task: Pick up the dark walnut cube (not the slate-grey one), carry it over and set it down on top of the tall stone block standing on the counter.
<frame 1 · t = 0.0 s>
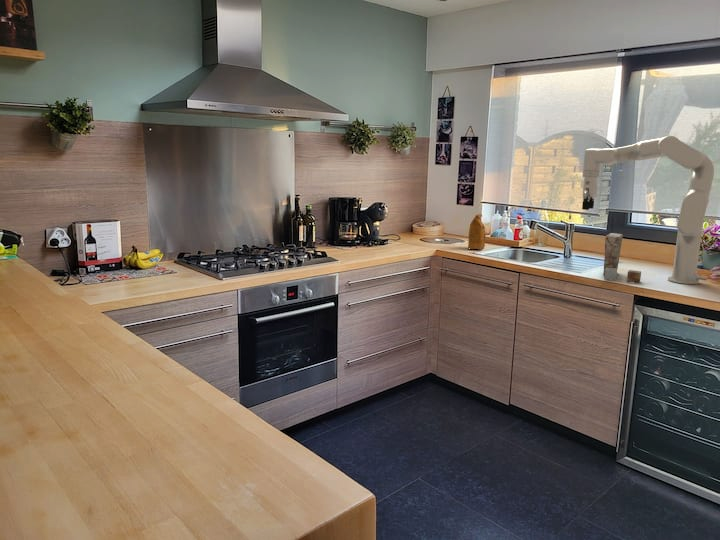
hand: (587, 209, 275), 31 cm above the countertop, tool pointing down, fingers open, 9 cm apart
stone block: (610, 274, 271), on the countertop
walnut cube: (633, 282, 255), on the countertop
slate grey cube: (610, 279, 260), on the countertop
coffee package: (476, 249, 345), on the countertop
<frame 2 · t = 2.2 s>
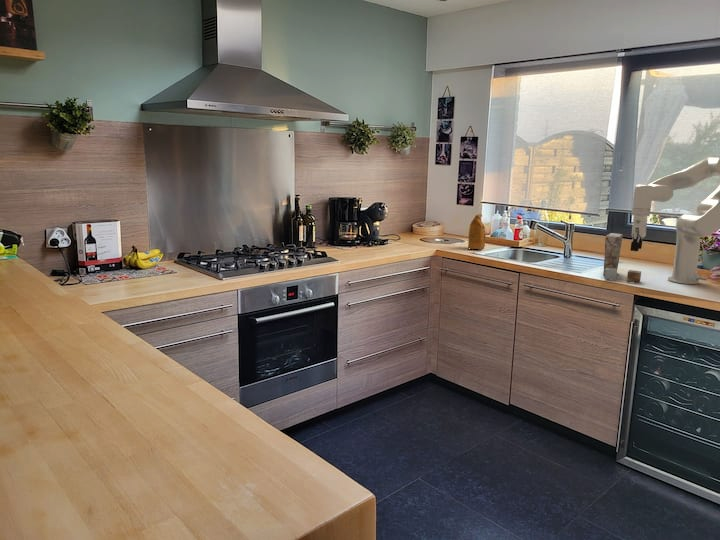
hand: (635, 249, 252), 15 cm above the countertop, tool pointing down, fingers open, 9 cm apart
nothing on the countertop moved.
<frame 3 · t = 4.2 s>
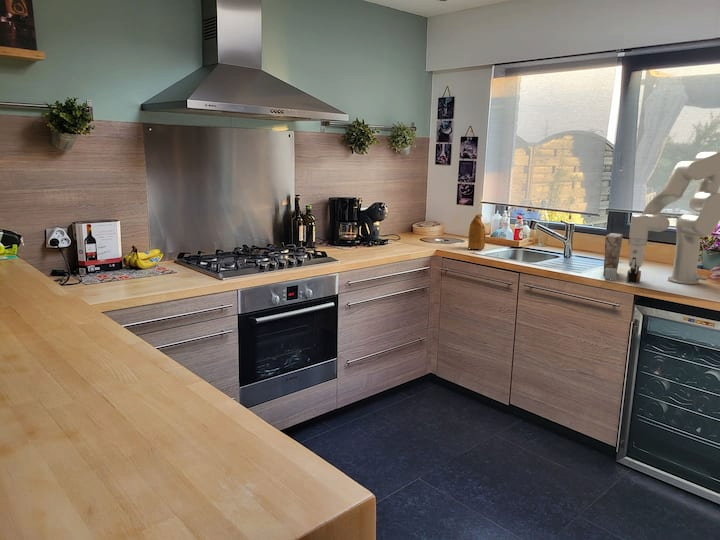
hand: (633, 280, 255), 1 cm above the countertop, tool pointing down, fingers closed on walnut cube, 5 cm apart
walnut cube: (633, 281, 255), on the countertop, touching gripper
everything else where it was.
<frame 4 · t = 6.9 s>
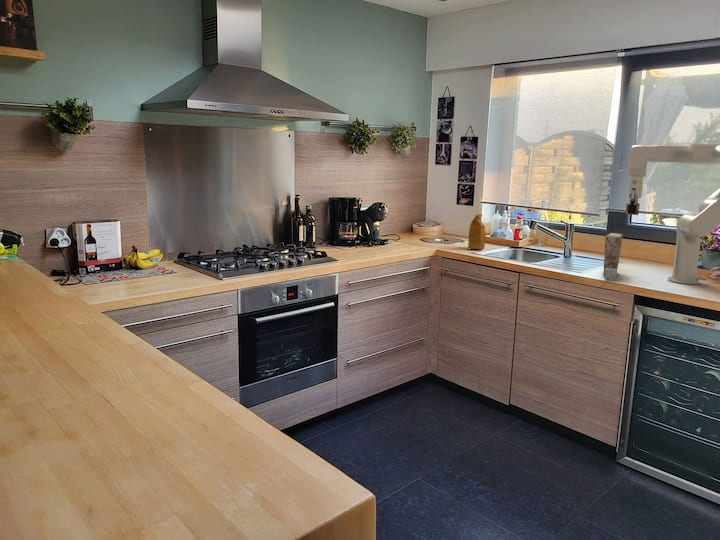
hand: (632, 212, 254), 32 cm above the countertop, tool pointing down, fingers closed on walnut cube, 5 cm apart
walnut cube: (632, 214, 254), point 31 cm above the countertop, touching gripper
everything else where it was.
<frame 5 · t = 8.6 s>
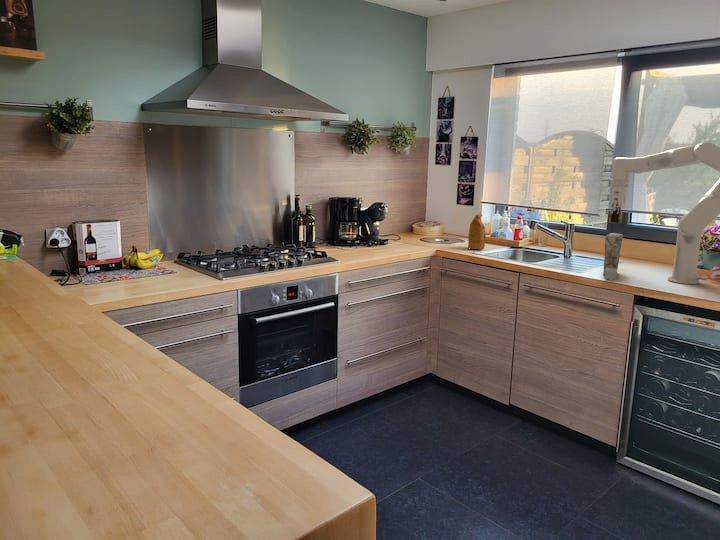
hand: (615, 221, 266), 26 cm above the countertop, tool pointing down, fingers closed on walnut cube, 5 cm apart
walnut cube: (615, 222, 266), point 26 cm above the countertop, touching gripper
everything else where it was.
when the fingers open (22 cm above the countertop, at t = 9.8 s): walnut cube drops 1 cm, resting on stone block.
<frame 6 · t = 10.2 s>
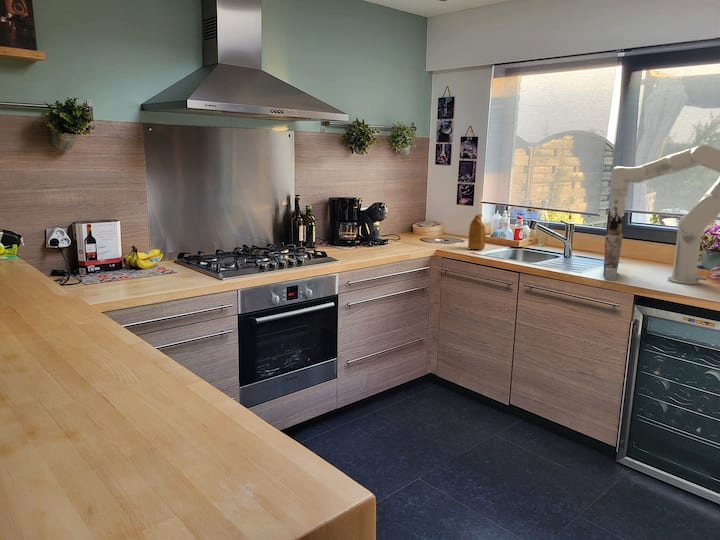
hand: (615, 228, 267), 23 cm above the countertop, tool pointing down, fingers open, 9 cm apart
stone block: (610, 274, 271), on the countertop, touching walnut cube
walnut cube: (614, 234, 267), point 20 cm above the countertop, touching stone block
everything else where it was.
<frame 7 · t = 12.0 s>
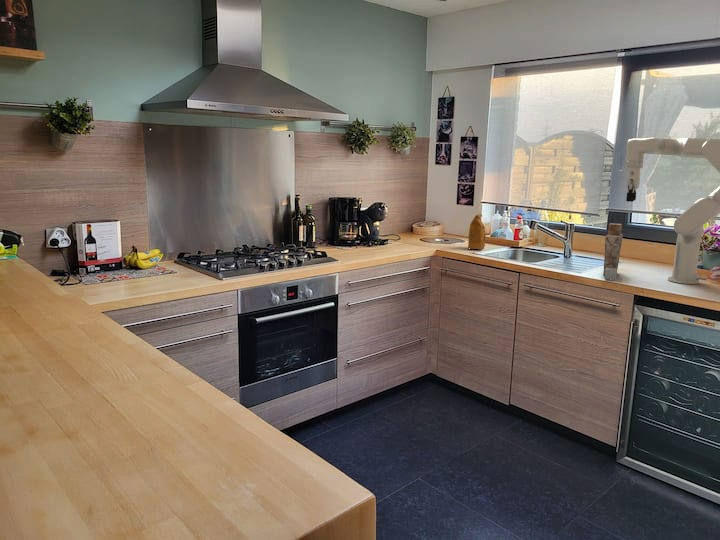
hand: (630, 200, 267), 36 cm above the countertop, tool pointing down, fingers open, 9 cm apart
nothing on the countertop moved.
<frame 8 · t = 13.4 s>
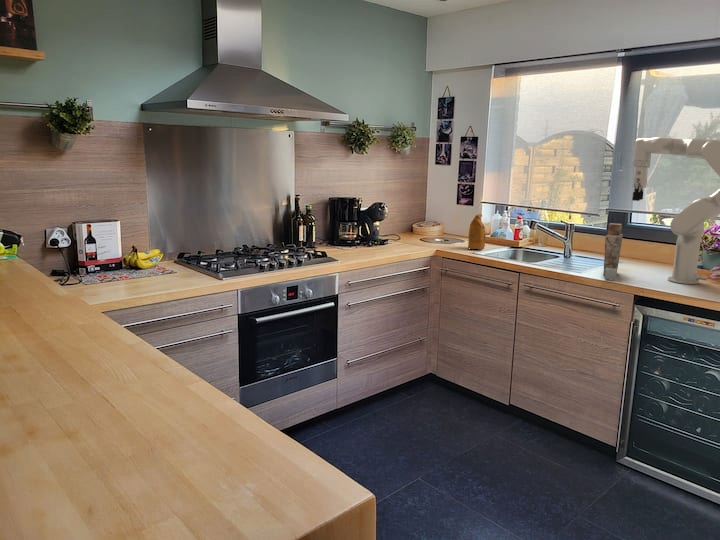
hand: (637, 200, 269), 36 cm above the countertop, tool pointing down, fingers open, 9 cm apart
nothing on the countertop moved.
at the end: walnut cube inside the target area on the stone block (0.1 cm from its centre), point 20.2 cm above the stone block's base; the gripper is holding nothing; walnut cube touching stone block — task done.
